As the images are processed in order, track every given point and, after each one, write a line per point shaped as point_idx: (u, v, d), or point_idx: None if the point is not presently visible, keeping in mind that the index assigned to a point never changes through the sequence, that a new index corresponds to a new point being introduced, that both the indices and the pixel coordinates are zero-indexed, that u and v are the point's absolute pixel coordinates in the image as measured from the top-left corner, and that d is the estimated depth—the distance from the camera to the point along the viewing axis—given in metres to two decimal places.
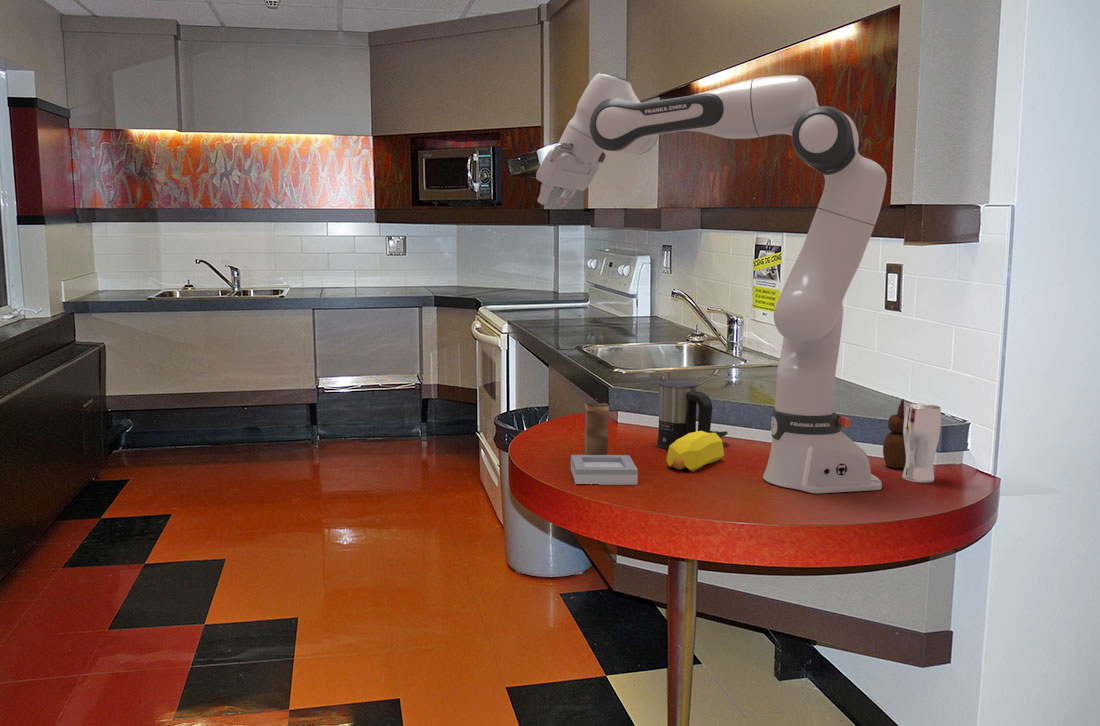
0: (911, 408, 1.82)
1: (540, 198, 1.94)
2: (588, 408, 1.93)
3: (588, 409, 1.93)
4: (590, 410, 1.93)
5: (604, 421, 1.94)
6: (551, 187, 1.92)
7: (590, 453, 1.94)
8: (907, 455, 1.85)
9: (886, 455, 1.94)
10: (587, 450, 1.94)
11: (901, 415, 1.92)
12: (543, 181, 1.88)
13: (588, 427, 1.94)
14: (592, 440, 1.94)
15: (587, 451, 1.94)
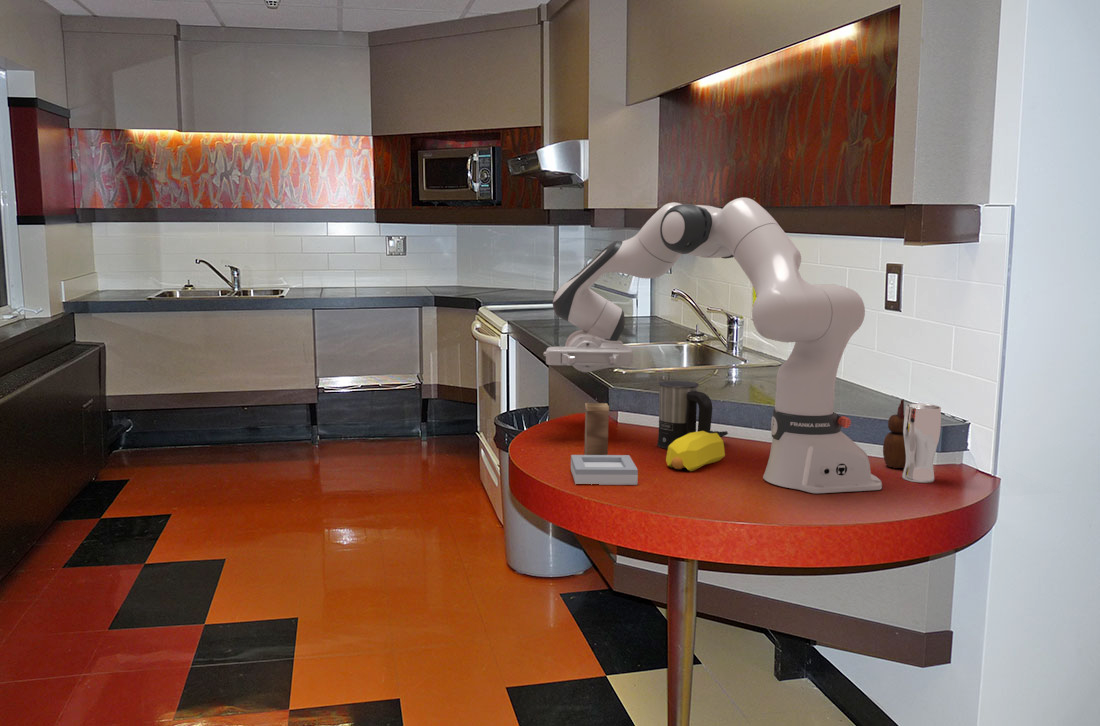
0: (911, 408, 1.82)
1: (567, 361, 2.07)
2: (588, 408, 1.93)
3: (588, 409, 1.93)
4: (590, 410, 1.93)
5: (604, 421, 1.94)
6: (564, 353, 2.10)
7: (590, 453, 1.94)
8: (907, 455, 1.85)
9: (886, 455, 1.94)
10: (587, 450, 1.94)
11: (901, 415, 1.92)
12: (547, 355, 2.11)
13: (588, 427, 1.94)
14: (592, 440, 1.94)
15: (587, 451, 1.94)
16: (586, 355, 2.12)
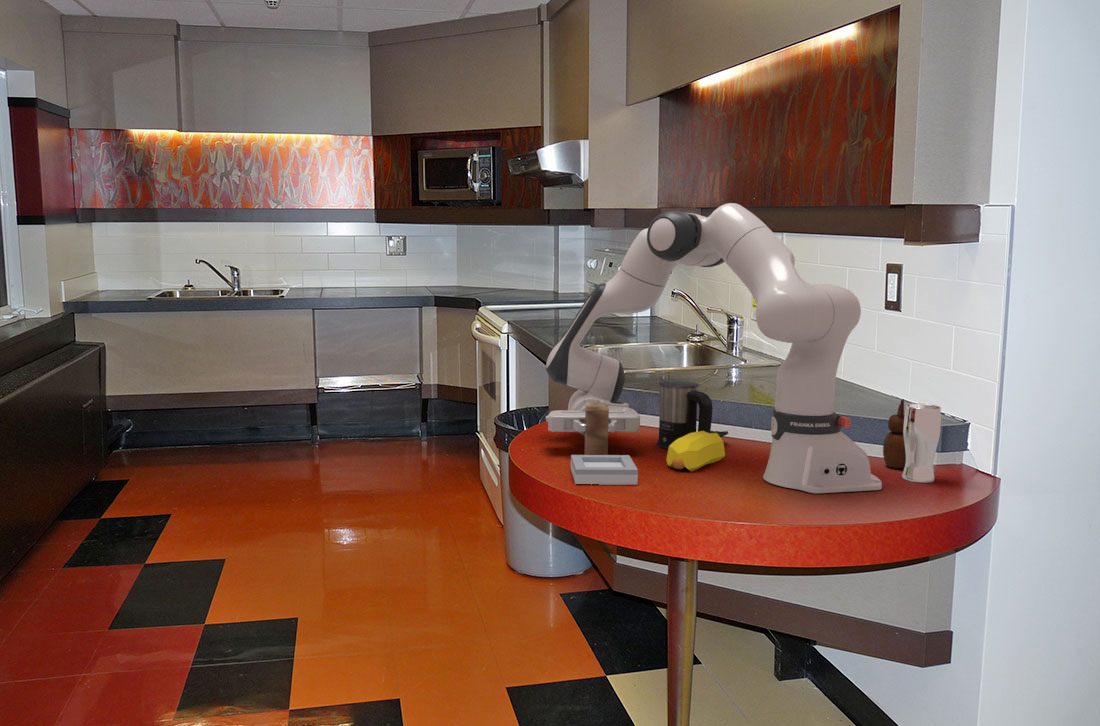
0: (911, 408, 1.82)
1: (579, 429, 1.96)
2: (588, 408, 1.93)
3: (588, 409, 1.93)
4: (590, 410, 1.93)
5: (604, 421, 1.94)
6: (575, 420, 1.99)
7: (590, 453, 1.94)
8: (907, 455, 1.85)
9: (886, 455, 1.94)
10: (587, 450, 1.94)
11: (901, 415, 1.92)
12: (549, 421, 2.00)
13: (588, 427, 1.94)
14: (592, 439, 1.94)
15: (587, 451, 1.94)
16: None
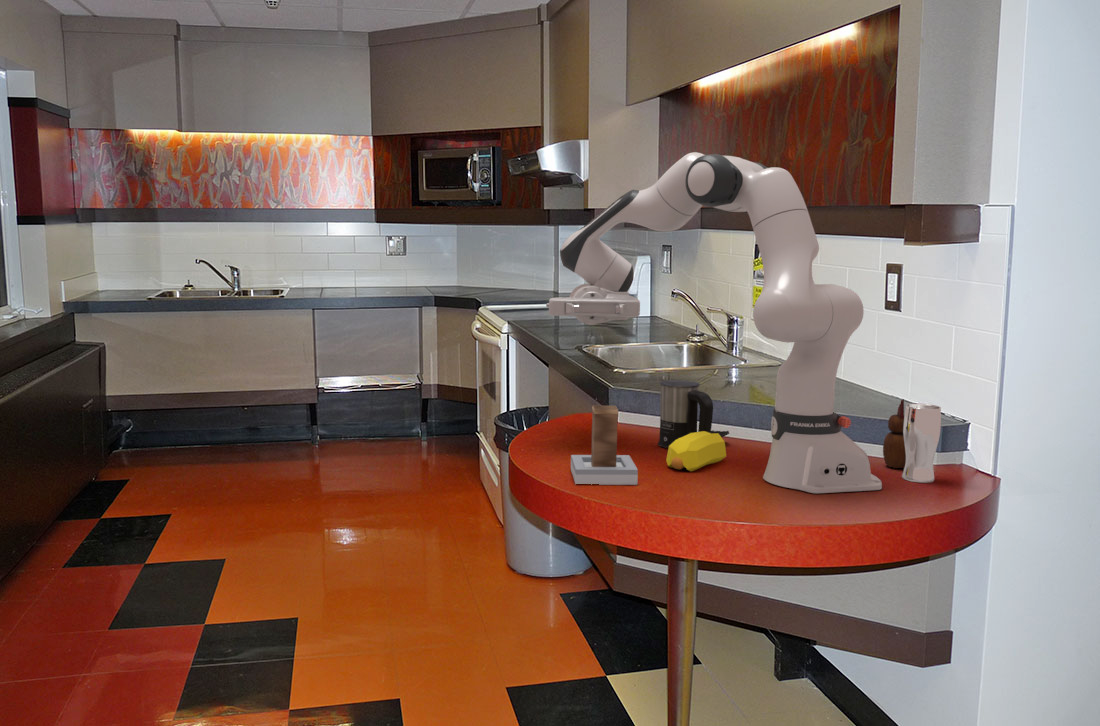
0: (911, 408, 1.82)
1: (571, 310, 1.97)
2: (595, 411, 1.79)
3: (595, 412, 1.79)
4: (598, 413, 1.79)
5: (613, 425, 1.79)
6: (568, 303, 2.00)
7: (597, 459, 1.80)
8: (907, 455, 1.85)
9: (886, 455, 1.94)
10: (594, 456, 1.80)
11: (901, 415, 1.92)
12: (550, 305, 2.01)
13: (595, 431, 1.79)
14: (600, 445, 1.80)
15: (594, 457, 1.80)
16: (591, 306, 2.02)
